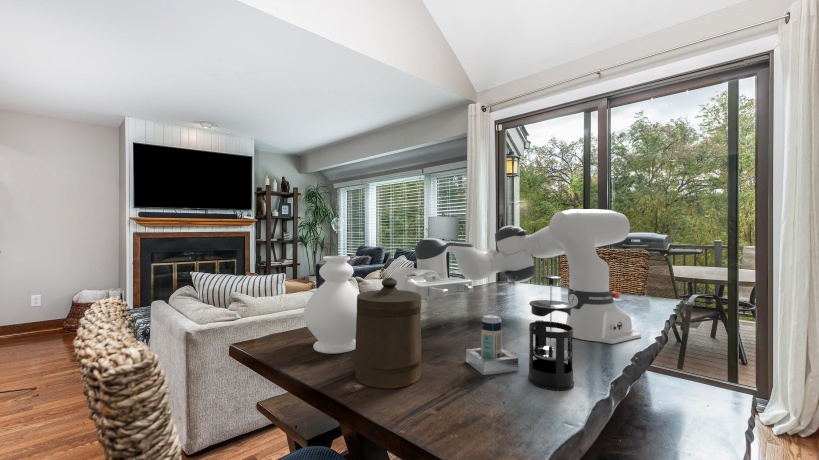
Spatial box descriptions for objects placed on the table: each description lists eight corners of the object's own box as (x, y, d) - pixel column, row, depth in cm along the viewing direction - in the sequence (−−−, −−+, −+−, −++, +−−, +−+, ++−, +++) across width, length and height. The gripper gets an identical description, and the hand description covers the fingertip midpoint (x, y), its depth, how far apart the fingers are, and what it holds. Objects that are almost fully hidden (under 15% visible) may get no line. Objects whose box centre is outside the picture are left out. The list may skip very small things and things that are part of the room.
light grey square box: (497, 357, 95) (497, 346, 95) (518, 370, 86) (518, 357, 86) (465, 361, 92) (466, 349, 92) (483, 375, 84) (483, 362, 84)
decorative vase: (377, 351, 100) (377, 258, 100) (310, 361, 92) (310, 260, 92) (357, 333, 116) (357, 253, 116) (298, 341, 108) (298, 255, 108)
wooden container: (425, 365, 90) (425, 274, 90) (415, 392, 75) (415, 283, 75) (366, 361, 92) (366, 273, 92) (345, 386, 78) (345, 281, 78)
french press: (584, 391, 76) (585, 279, 75) (539, 393, 75) (540, 279, 75) (557, 369, 87) (558, 272, 87) (518, 370, 87) (519, 272, 86)
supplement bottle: (499, 362, 92) (500, 314, 91) (502, 370, 87) (503, 319, 87) (480, 362, 92) (480, 313, 92) (482, 369, 87) (482, 318, 87)
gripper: (453, 292, 116) (486, 299, 104) (398, 299, 104) (428, 308, 93) (453, 272, 116) (486, 277, 104) (398, 276, 104) (428, 282, 93)
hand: (458, 291), depth 98 cm, fingers open, 8 cm apart
